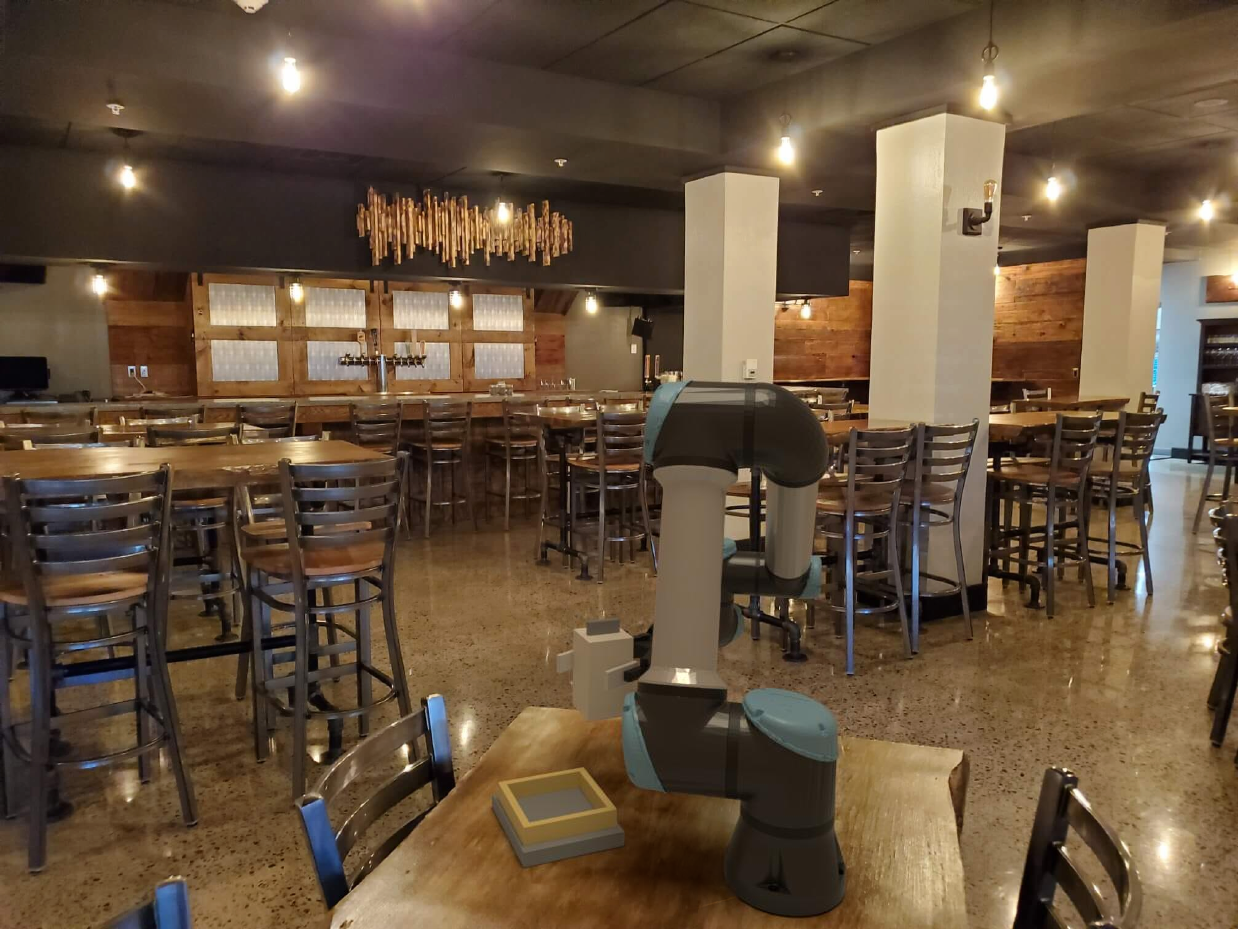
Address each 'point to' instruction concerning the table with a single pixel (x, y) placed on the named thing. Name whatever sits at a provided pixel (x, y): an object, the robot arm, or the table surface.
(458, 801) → the table surface
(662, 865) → the table surface
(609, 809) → the tray
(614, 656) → the beige rectangular block
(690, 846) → the table surface
